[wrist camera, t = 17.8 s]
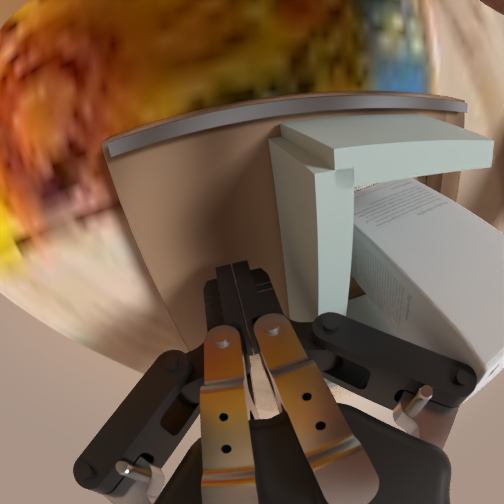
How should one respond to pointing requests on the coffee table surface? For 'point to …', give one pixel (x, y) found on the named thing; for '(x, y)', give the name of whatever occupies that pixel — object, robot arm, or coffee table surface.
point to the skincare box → (432, 272)
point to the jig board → (230, 188)
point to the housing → (350, 195)
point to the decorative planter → (495, 5)
